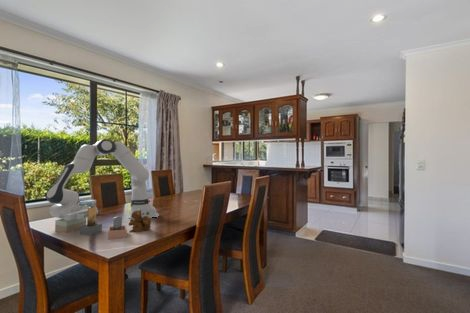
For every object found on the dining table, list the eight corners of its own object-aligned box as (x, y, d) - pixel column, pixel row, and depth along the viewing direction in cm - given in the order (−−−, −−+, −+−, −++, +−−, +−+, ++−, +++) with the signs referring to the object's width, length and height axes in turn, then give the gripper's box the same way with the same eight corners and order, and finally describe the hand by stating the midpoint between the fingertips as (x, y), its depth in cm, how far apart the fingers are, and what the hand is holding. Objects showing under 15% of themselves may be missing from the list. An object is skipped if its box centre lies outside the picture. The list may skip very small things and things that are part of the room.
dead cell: (121, 234, 146) (121, 214, 147) (121, 236, 143) (122, 216, 143) (112, 235, 144) (113, 215, 145) (112, 237, 141) (113, 217, 141)
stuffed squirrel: (131, 228, 160) (132, 208, 160) (153, 228, 161) (154, 209, 161) (126, 233, 150) (126, 212, 150) (149, 233, 151) (150, 212, 151)
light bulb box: (85, 215, 189) (86, 202, 189) (78, 215, 190) (78, 201, 190) (96, 212, 199) (96, 199, 200) (89, 212, 201) (89, 199, 201)
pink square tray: (125, 233, 150) (125, 225, 150) (126, 238, 141) (126, 229, 141) (108, 235, 146) (108, 226, 146) (107, 240, 137) (108, 231, 137)
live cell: (95, 223, 151) (96, 205, 151) (95, 225, 147) (96, 206, 147) (87, 224, 149) (88, 205, 149) (86, 226, 145) (87, 207, 145)
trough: (75, 225, 164) (75, 215, 164) (86, 226, 161) (86, 216, 161) (55, 231, 150) (55, 220, 150) (66, 232, 148) (66, 221, 148)
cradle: (92, 230, 153) (93, 222, 153) (101, 232, 151) (102, 223, 151) (80, 234, 144) (80, 225, 144) (89, 236, 142) (89, 227, 143)
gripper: (57, 210, 142) (75, 213, 138) (87, 204, 162) (104, 206, 158) (57, 221, 142) (75, 224, 138) (87, 214, 162) (104, 216, 158)
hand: (91, 214), depth 148 cm, fingers open, 8 cm apart
